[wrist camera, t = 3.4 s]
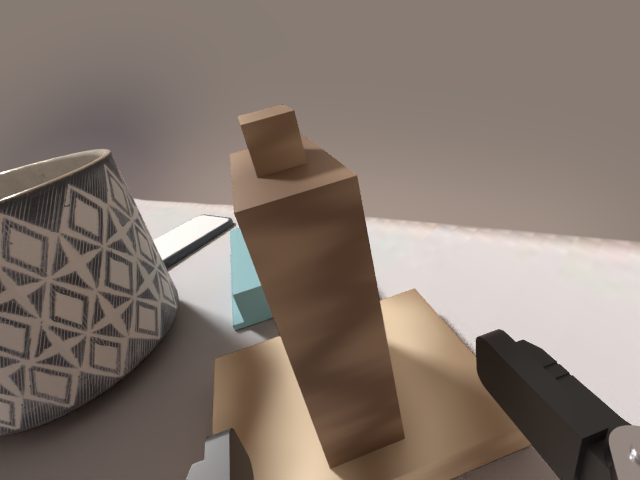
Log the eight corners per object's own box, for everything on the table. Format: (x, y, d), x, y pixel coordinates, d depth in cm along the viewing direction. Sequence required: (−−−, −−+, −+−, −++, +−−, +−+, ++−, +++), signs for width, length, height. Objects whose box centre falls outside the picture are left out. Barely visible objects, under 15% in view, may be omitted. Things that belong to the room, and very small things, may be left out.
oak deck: (224, 575, 16) (208, 556, 15) (224, 377, 27) (214, 358, 26) (530, 445, 18) (533, 421, 17) (417, 307, 28) (414, 288, 28)
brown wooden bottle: (330, 469, 17) (209, 148, 10) (296, 344, 25) (216, 115, 18) (404, 438, 18) (345, 110, 10) (349, 325, 26) (292, 94, 18)
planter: (71, 483, 22) (-153, 265, 14) (-89, 436, 29) (-299, 272, 21) (226, 289, 37) (159, 135, 30) (98, 289, 44) (17, 164, 37)
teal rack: (235, 330, 31) (220, 298, 29) (232, 258, 43) (221, 232, 42) (361, 287, 32) (354, 254, 31) (323, 228, 45) (317, 203, 43)
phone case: (204, 222, 59) (111, 274, 48) (200, 213, 58) (106, 264, 47) (238, 227, 53) (143, 287, 43) (235, 217, 53) (137, 276, 42)
